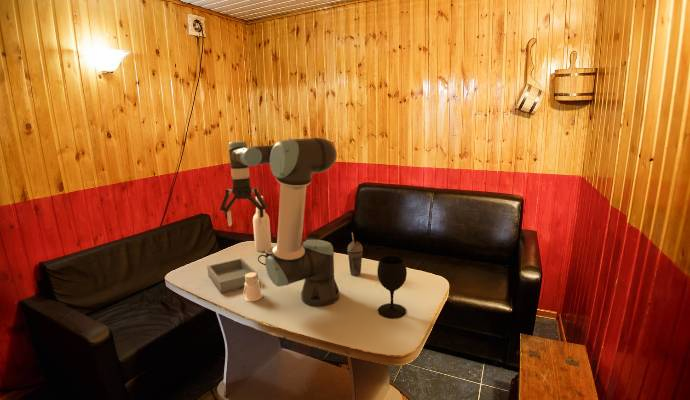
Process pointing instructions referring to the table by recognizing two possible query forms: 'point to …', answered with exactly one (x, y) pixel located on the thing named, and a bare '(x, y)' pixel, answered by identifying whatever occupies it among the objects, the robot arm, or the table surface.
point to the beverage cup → (355, 257)
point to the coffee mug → (268, 253)
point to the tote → (229, 275)
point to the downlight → (252, 287)
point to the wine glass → (392, 283)
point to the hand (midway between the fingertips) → (245, 225)
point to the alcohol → (261, 231)
